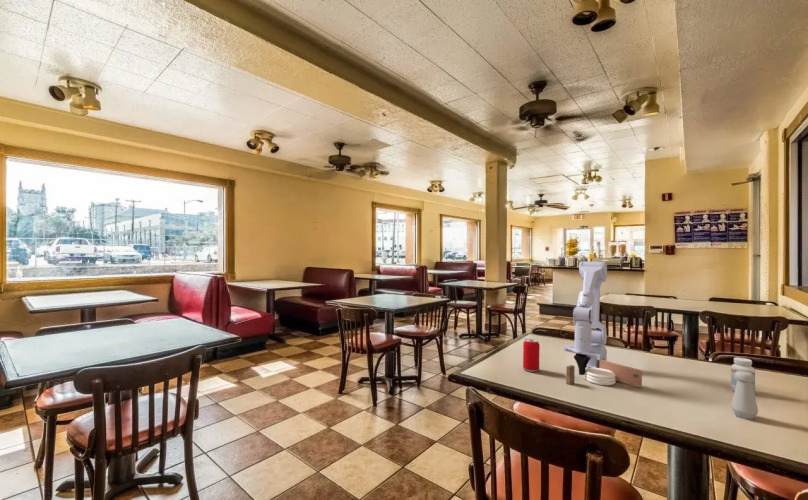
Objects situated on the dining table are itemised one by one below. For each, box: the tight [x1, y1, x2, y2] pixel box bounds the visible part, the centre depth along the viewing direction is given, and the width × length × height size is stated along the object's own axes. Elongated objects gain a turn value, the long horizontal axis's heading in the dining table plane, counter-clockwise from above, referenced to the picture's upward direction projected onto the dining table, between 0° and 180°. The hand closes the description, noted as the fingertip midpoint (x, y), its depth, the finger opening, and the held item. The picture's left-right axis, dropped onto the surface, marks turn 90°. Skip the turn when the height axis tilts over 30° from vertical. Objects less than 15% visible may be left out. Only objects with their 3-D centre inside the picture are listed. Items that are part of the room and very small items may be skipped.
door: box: [599, 360, 643, 388], centre depth 132 cm, size 15×2×6 cm, turn 32°
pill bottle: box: [730, 357, 756, 394], centre depth 124 cm, size 6×6×11 cm
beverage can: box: [522, 338, 541, 373], centre depth 144 cm, size 6×6×12 cm
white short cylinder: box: [584, 367, 617, 386], centre depth 133 cm, size 10×10×4 cm
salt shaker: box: [730, 371, 759, 421], centre depth 105 cm, size 6×6×13 cm
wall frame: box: [565, 358, 604, 386], centre depth 135 cm, size 22×1×7 cm, turn 121°
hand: (582, 374), depth 135 cm, fingers closed, pressing on white short cylinder
